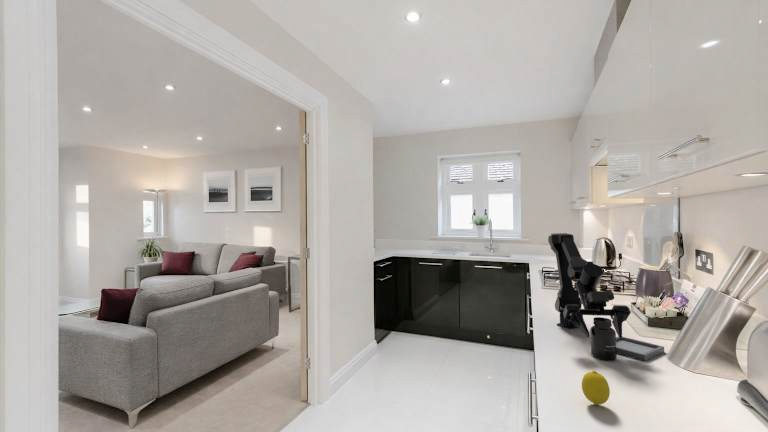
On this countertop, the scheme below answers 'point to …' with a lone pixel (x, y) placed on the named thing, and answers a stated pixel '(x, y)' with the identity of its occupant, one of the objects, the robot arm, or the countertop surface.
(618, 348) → the base plate
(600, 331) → the supplement bottle
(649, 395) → the countertop surface
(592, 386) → the lemon
